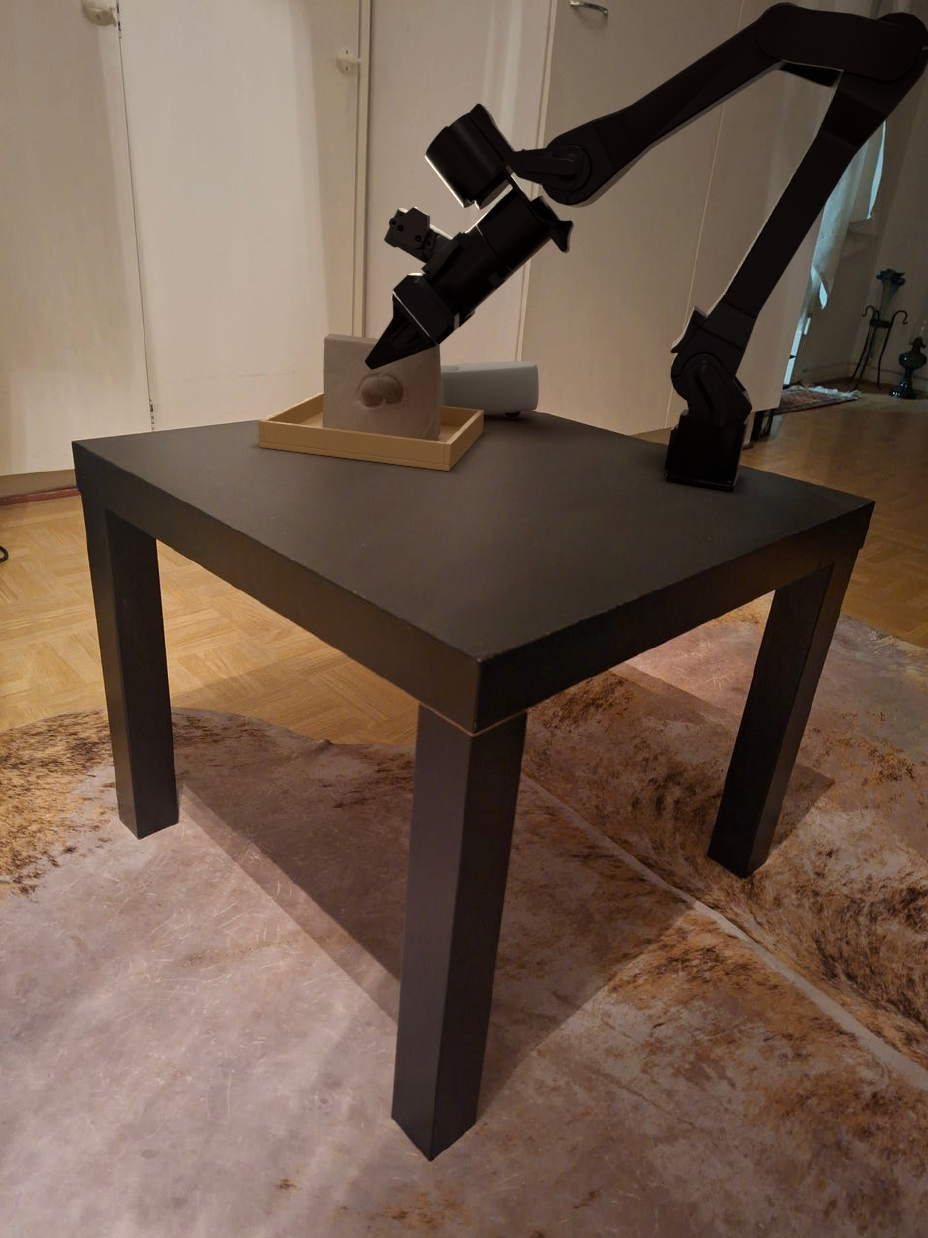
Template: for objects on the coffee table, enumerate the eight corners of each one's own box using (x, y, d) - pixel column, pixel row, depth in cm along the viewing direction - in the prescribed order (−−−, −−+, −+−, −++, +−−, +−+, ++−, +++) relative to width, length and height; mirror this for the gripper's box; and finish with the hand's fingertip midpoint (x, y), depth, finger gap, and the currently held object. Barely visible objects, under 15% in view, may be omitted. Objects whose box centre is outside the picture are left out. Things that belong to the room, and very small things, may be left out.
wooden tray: (482, 433, 95) (484, 410, 94) (449, 471, 79) (450, 444, 78) (321, 414, 98) (321, 391, 97) (258, 447, 82) (257, 420, 81)
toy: (412, 434, 98) (542, 428, 97) (408, 378, 95) (541, 372, 94) (420, 413, 109) (536, 408, 108) (417, 362, 106) (536, 357, 105)
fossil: (320, 432, 87) (320, 336, 83) (330, 425, 90) (330, 332, 86) (434, 444, 86) (440, 347, 82) (440, 436, 89) (446, 343, 85)
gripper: (451, 182, 86) (345, 289, 91) (422, 170, 69) (294, 302, 75) (521, 271, 89) (414, 369, 94) (508, 280, 72) (379, 399, 77)
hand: (378, 359), depth 85 cm, fingers open, 9 cm apart
